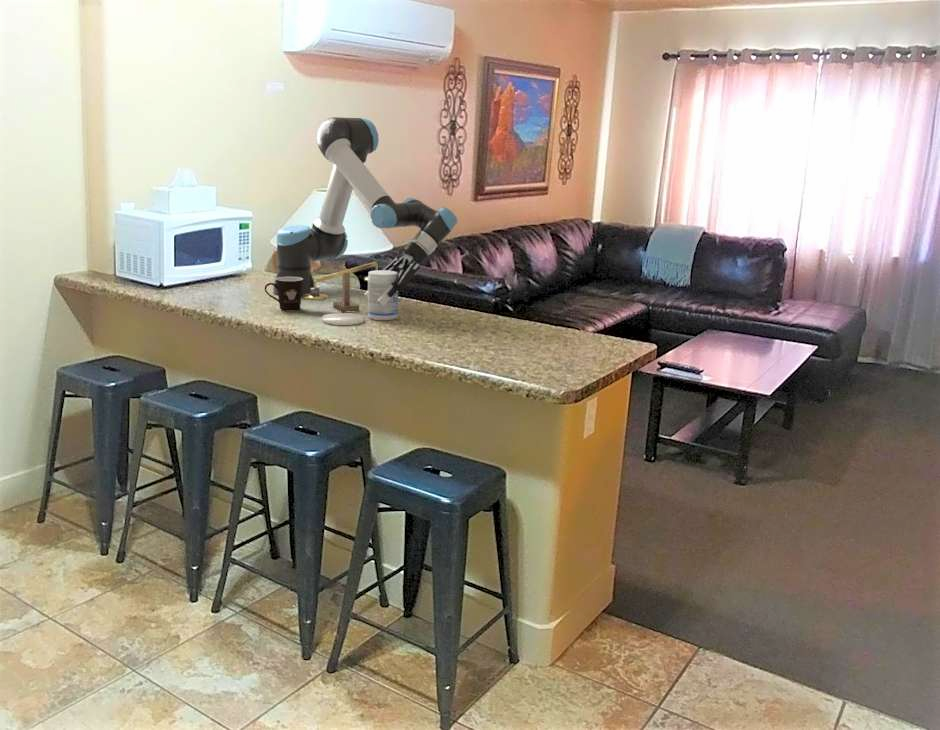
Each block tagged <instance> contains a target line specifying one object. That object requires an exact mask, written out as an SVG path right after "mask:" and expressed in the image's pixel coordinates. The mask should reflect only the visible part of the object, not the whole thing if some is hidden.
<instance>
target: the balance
mask: <svg viewBox="0 0 940 730" xmlns="http://www.w3.org/2000/svg"><path fill="white" fill-rule="evenodd" d="M370 268H371V269H372V268H375V269H374V271H375V270H378V269H379V265H378V262H377V261H373V262H369V263H365V264H362V265H359V266H355V267H351V268H348V269H344V270H341V271H337V272H333V273H330V274H326V275H321V276H318V277H315V278H313V279H314V287H312V288H310V293H309V294H304V295H302V296H301V299H302V300H304V301H305V300H306V301H324V300H327V299H328V295H327V294H325V293H322V292H321V293H320V291H321V290H320V287H317V283H321V282H324V281H328V280H331V279H335V278H338V277H341V276H342V301H333V302H332V308H333V309H334V308H335V310H336V309H337V311H338V310H339V312H340V311H341V312H340V313H342V312H344V313H347V312H346V311H357V312H360V305H359V304H357V303H356V302H354V301H351V294H350V293H351V287H350V284H351V283H350V281H351V278H350V275H351V274H352V273H356V272H360V271H364V270H367V269H370ZM363 279H364V281H365V282H367V283H368V275H367V276H365V277H364V278H363Z"/></svg>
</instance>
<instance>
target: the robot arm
mask: <svg viewBox="0 0 940 730" xmlns="http://www.w3.org/2000/svg"><path fill="white" fill-rule="evenodd" d="M316 142H317V146H318V149H319V151H320V153H321V154H322V155H323V157H324V158H325V159H326V161H327V162H328V163H333V167H332V171H331V173H330V177H329V182H328V185H327V189H326V193H325V196H324V199H323V203H322V205H321V211H320V213H319V216H318V217H315V218H314V220H313V223H312V226H311V227H310V226H308V225H303V224H299V225H289V226H285V227H282V228H280V229H279V230H278V231H277V235H276V247H277V248H276V251H277V253H276V254H277V256H276V257H277V273H276V276H275V278H274V282H273V283H274V284H277V282H276V278H279V277H300V278H303V284H302V294H301V297H302V295H304V294H309V293H310V288H312V287H314V279H315V278H314V277H313V274H312V265H311V264H312V263H311V262H318V261H319V262H320V261H331V260H334V259H338V258H341V257H342V256H343V255H344V254H345V252H346V250H347V249H348V244H349V241H348V239H347V238H348V235H347V233H346V228H345V226H344V224H343V223H344V220H345V216H346V213H347V210H348V206H349V203H350V200H351V196H352V193H353V190H354V191H355V192H356V194H357V195H358V196H359V197H360V199H362V201H363V202H364V204H366V206H367V207H368V208H369V210H370V213H369V216H370V219H371V223H372V225H373V226H375V227H376V228H378V229H388V230H389V229H393V228H401V227H402V228H405V227H417V228H419V229H420V230H418V232H417V233H416V234H415V235H414V236H413V237H412V239H411V241H409V242H408V243H407V245H405V247H404V248H403V252H404V254H403V255H402V256H401V257H400V256H399V255H396V256H395V257H394V259H392V260H391V262H389V264H388V265H386V266H385V267H384V268H383V269H382V270H388V271H395V272H397V273H398V276H397V278H396V280H395V282H393V283H391V284H392V285H393V286H392V285H390V287H389V288H388V289H387V290H386V291H385V292H384V293H383V294H382V296H381V297H380V298H379V299H378V301H379V302H380V304H381V305H382V306H385V305H386V303H387V302H388V301H389V300H390V299H391V298H392V297H393V295H394V294H395V293H396V292H397V291H398V292H399V291H404V290H405V289H406V287H407V286H408V284H409V283H410V281H411V280H412V278H413V277H414V275H415V274H416V272H417V271H419V269H420V268H421V266H420V265H423V263H424V262H426V260H427V259H428V258H429V257H428V256H430V255H431V254H432V253H433V252H435V251H436V248H437V247H438V246H439V245H440V244H441V242H443V240H444V239H445V238H446V237H447V236H448V235H449V234H450V233H451V232H452V231H453V229H454V228H455V227H456V225H457V224H458V222H459V221H458V218H457V216H456V215H455V213H454V212H453V211H452V210H451V209H449V208H448V207H446V206H440V207H439V208H438V209H437V210H436V209H433V208H432V207H430V206H428V205H427V204H425V203H424V202H422V201H421V200H419V199H416V198H414V197H407V198H406V199H404V200H403V201H402V202H399V203H396V202H395V201H394V199H392V197H391V196H390V195H389V193H388V192H387V191H386V190H385V189H384V187H383V186H382V185H381V184H380V182H379V181H378V180H377V179H376V177H375V176H374V174H373V173H372V172H371V171H370V170H369V168H367V166H366V164H365V163H366V162H367V157H368V155H369V154H372V153H373V152H375V151H376V150H377V148H378V146H379V133H378V129H377V127H376V125H375V123H373V122H372V120H370V119H367V118H362V117H339V116H336V117H335V116H334V117H329V118H327V119H325V120H324V121H322V122H321V124H320V125H319V127H318V130H317V132H316ZM272 293H273V294H275V295H278V290H277V289H276V287H275V286H274V285H272ZM364 296H365V297H366V298H367V299H368V290H367V291H366V292H364Z"/></svg>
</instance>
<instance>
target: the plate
mask: <svg viewBox="0 0 940 730" xmlns="http://www.w3.org/2000/svg"><path fill="white" fill-rule="evenodd" d="M321 322H322V323H323V322H324V323H323V324H325V323H327V324H326V325H329V324H332V325H331V326H336V325H351V326H354V325H353V324H358V325H360V324H359V323H361V324H363V323H365V317H364V315H361V314H359V313H352V312H344V313H342V312H335V313H329V314H328V313H327V314H323V315H322V316H321Z"/></svg>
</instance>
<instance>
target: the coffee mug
mask: <svg viewBox="0 0 940 730" xmlns="http://www.w3.org/2000/svg"><path fill="white" fill-rule="evenodd" d="M275 278H276V277H275ZM276 282H277V284H274V282H269V283H267V284H265V285H264V291H265V293H266V294H267V295H268V296H269V297H270V298H271V299H273V300H276V301H277V302H278V304H279V309H281V310H280V311H283V310H285V311H284V312H295V311H296V310H297V311H300V309H301V303H302V296H301V294H302V284H303V278H300V277H279V278H276ZM270 285H272V286H273V285H274V286H275V287H276V289H277V290H278V294H277V295H278V298H276V297H275V296H273V295H271V294H270V293H269V291H268V290H267V288H268V286H270Z"/></svg>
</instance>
